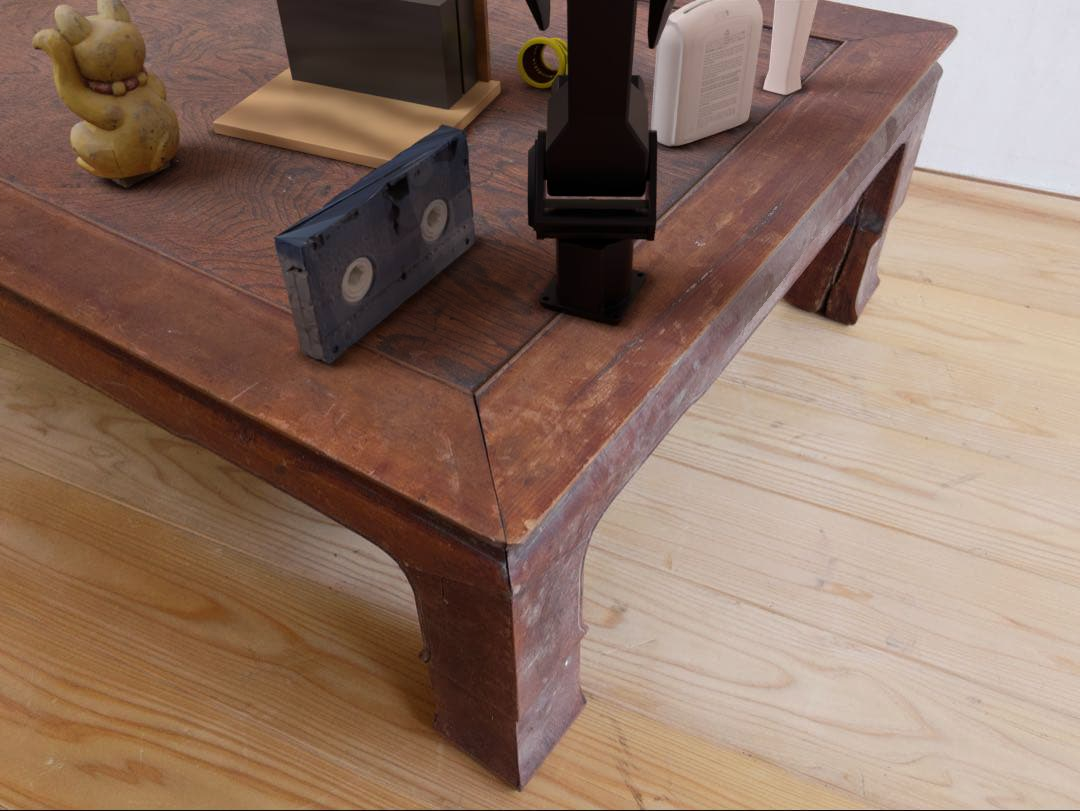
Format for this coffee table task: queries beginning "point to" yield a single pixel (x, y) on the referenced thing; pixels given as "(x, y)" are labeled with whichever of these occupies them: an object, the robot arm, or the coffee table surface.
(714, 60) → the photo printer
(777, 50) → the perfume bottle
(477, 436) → the coffee table surface
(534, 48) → the yellow hollow cylinder
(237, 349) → the coffee table surface
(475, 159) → the coffee table surface
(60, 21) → the decorative figurine
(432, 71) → the tape rack
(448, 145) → the vhs cassette tape
